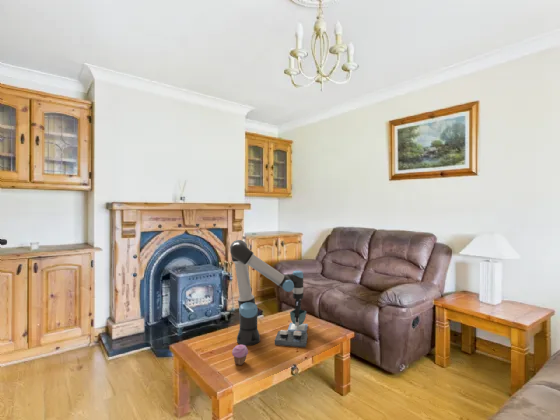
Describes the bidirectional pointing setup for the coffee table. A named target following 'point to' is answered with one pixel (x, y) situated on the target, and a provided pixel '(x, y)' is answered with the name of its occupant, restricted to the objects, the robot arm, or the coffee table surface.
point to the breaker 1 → (284, 332)
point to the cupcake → (240, 354)
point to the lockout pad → (298, 328)
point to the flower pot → (301, 316)
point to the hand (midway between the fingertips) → (298, 323)
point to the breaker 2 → (298, 333)
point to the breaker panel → (291, 339)
